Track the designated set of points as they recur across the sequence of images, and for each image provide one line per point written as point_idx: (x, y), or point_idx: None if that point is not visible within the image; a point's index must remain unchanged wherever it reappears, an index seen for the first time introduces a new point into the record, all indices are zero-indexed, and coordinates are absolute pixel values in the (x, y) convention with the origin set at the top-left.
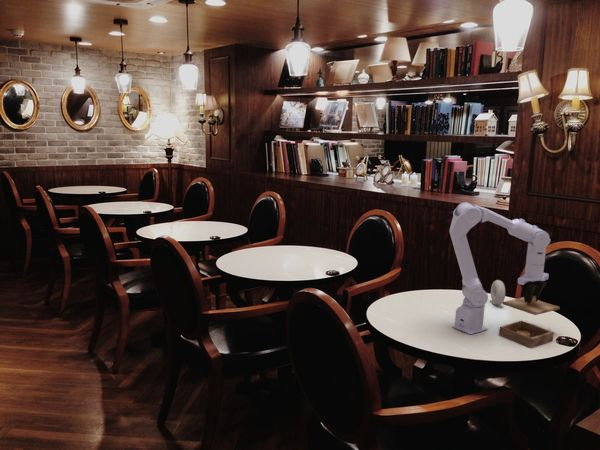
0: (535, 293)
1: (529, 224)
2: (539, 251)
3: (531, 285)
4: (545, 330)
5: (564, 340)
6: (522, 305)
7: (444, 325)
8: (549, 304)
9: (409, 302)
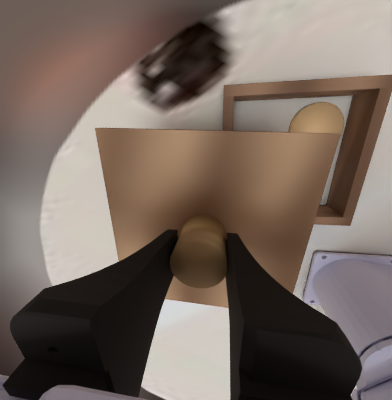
0: (161, 270)
1: None
2: None
3: (338, 371)
4: (232, 117)
5: (182, 71)
6: (258, 248)
7: None
8: (115, 184)
9: None
